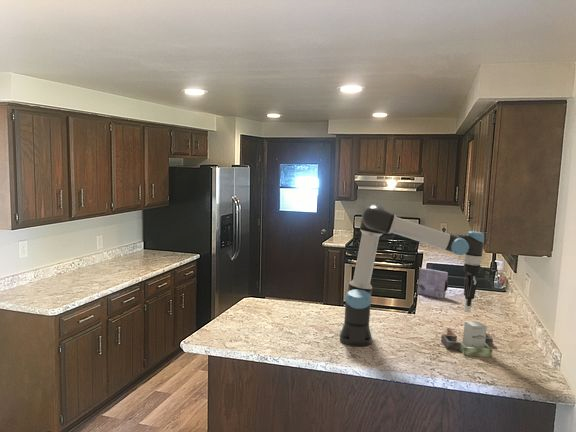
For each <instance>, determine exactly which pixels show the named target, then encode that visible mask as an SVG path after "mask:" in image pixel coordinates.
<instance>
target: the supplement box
mask: <svg viewBox="0 0 576 432" xmlns="http://www.w3.org/2000/svg"><path fill="white" fill-rule="evenodd" d="M487 327H488V326H487V325H485V324H484V323H483V322H481V321H464V325H463V337H462V343H463V344H464V345H465V346H466V347H477V348H485V339H486V333H487Z"/></svg>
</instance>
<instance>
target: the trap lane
mask: <svg viewBox="0 0 576 432" xmlns="http://www.w3.org/2000/svg"><path fill="white" fill-rule="evenodd" d="M440 336H441V338H440V342H441V343H442V345H443V346H444V347H445V349H446V350H449V351H451V350H452V351H459V352H460V353H461V354H462V355H463V356H472V357H473V356H474V357H487V358H493V348H492V347H493V344H494V338H493V337H492V336H490V334H488V333H487V332H486V339H485V348H477V347H466V346H465V345H464V344H463V341H457V339H458V336H457V334H456V333H455V332H454V331H453V330H452V329H451V328H447V331H446V334H441V335H440Z"/></svg>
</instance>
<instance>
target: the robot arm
mask: <svg viewBox="0 0 576 432" xmlns="http://www.w3.org/2000/svg"><path fill="white" fill-rule="evenodd" d="M359 230H360V232H361V237H360V242H359V247H358V252H357V258H356V263H355V268H354V274H353V279H351V280H350V281H349V283H348V289H347V292H346V294H345V303H344V304H345V305H344V306H345V308H344V323H343V326H342V329H341V330H340V333H339V342H341V343H342V344H345V345H347V346H353V347H366V346H370V345H371V344H372V342H373V336H372V333H371V329H370V315H371V303H372V298H371V297H372V290H373V286H372V284H371V281H372V275H373V270H374V267H375V261H376V260H375V259H376V256H377V250H378V245H379V241H380V237H381V236H383V235H384V234H388V235H389V234H394V235H398V236H401V237H404V238H407V239H410V240H414V241H417V242H418V243H422V244H425V245H429V246H432V247H435V248H438V249H441V250H444V251H448V252H450V253H453V254H454V255H458V256H463V255H464V263H463V271H464V272H465V273H466V274H464V275H463V280H464V281H463V282H464V284H463V285H464V286H463V296H464V305H463V313H464V312H465V313H471V311H472V301H473V300H475V296H476V290H477V285H478V283H479V280H477V278H478V277H477V274H480V273H481V270H482V269H481V268H482V265H481V264H482V260H483V250H484V245H485V233H484V232H481V231H476V230H475V231H473V230H469V231H468V232H467V234H455V233H450V232H449V233H447V232H444V231H441V230H438V229H435V228H431V227H429V226H425V225H423V224H420V223H417V222H413V221H411V220H407V219H403V218H401V217H397V216H396V214H395V213H393V212H389V211H388V210H386V209H385V208H384V207H383V206H382V205H380V204H375V203H371V204H369V205H367V206H365V207H364V208H363V210H362V212H361V220H360V226H359Z"/></svg>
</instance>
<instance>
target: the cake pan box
mask: <svg viewBox="0 0 576 432" xmlns="http://www.w3.org/2000/svg"><path fill="white" fill-rule="evenodd" d="M448 275H449V272H447V271H442V270H437V269H432V268H431V269H430V268H424V267H420V268H419V274H418V281H417V282H418V283H417V289H416V290H417V291H416V294H418V295H422V296H423V295H424V296H428V297H433V298H439V299H445V298H446V294H447V293H446V292H447V290H448V288H449V281H448V277H449V276H448Z"/></svg>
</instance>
